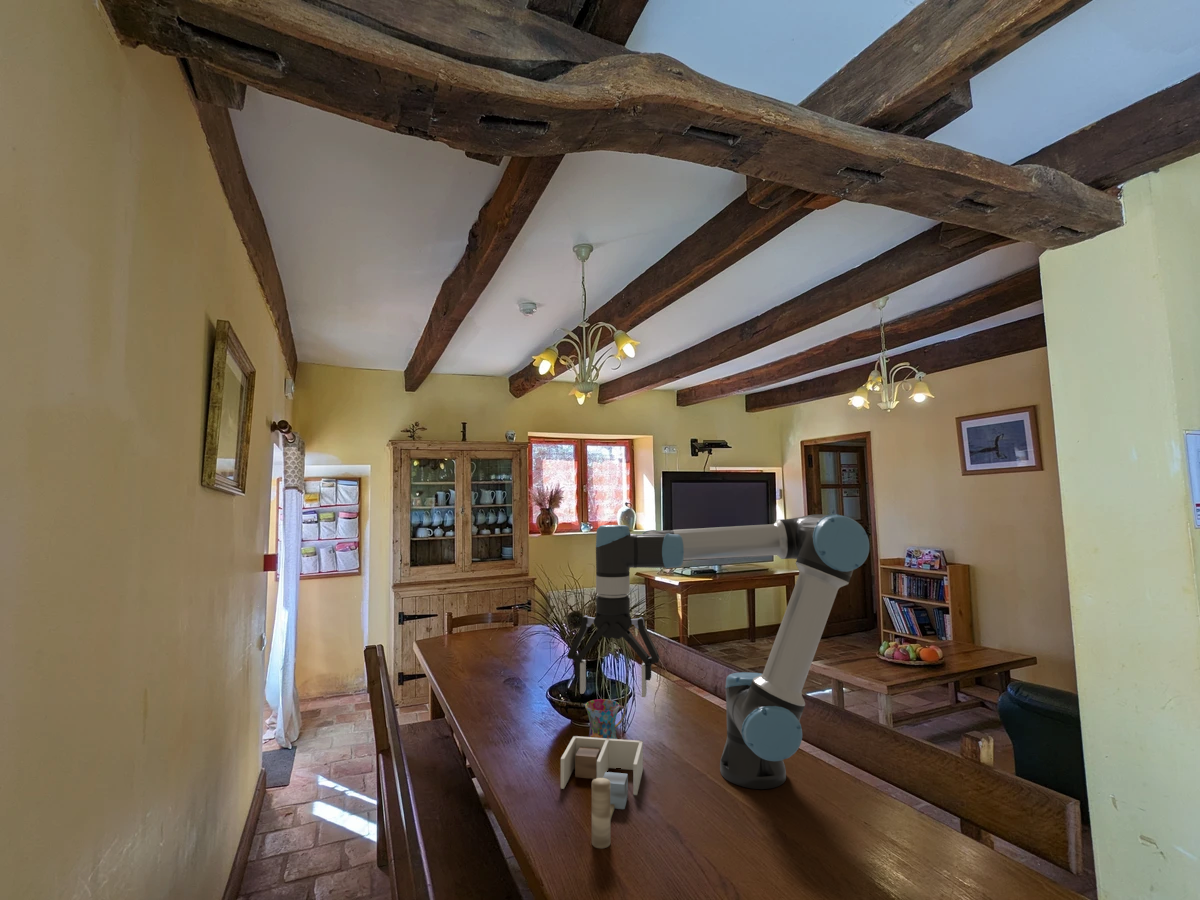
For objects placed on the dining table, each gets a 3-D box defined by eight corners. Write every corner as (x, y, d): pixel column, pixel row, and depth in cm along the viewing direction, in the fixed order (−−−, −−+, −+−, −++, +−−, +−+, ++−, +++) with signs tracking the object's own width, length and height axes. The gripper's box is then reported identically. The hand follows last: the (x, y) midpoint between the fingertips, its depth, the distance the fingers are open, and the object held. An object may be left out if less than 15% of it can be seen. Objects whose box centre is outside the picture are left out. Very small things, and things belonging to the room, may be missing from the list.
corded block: (605, 795, 128) (605, 743, 129) (627, 797, 127) (627, 745, 128) (586, 846, 109) (586, 785, 110) (612, 849, 108) (612, 787, 109)
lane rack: (573, 763, 144) (573, 736, 145) (643, 768, 141) (642, 740, 142) (560, 788, 131) (560, 758, 132) (637, 795, 128) (636, 764, 129)
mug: (596, 756, 148) (596, 713, 149) (578, 743, 156) (578, 702, 157) (635, 746, 154) (634, 704, 155) (616, 734, 162) (616, 695, 163)
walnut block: (580, 767, 142) (580, 746, 142) (600, 769, 141) (600, 748, 141) (575, 777, 137) (575, 755, 137) (595, 779, 136) (595, 757, 136)
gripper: (670, 593, 131) (671, 691, 129) (562, 590, 135) (562, 685, 133) (668, 599, 123) (669, 702, 121) (554, 596, 128) (553, 695, 126)
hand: (613, 693), depth 127 cm, fingers open, 13 cm apart
